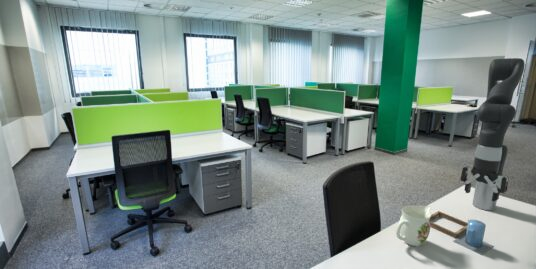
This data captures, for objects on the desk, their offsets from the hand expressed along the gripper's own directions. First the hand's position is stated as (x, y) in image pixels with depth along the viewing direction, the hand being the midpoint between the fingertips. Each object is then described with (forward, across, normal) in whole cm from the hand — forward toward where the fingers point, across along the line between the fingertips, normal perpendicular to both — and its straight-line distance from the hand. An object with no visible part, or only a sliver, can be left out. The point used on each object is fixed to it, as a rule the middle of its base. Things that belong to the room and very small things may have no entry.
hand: (480, 196), depth 104 cm
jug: (+20, -1, +2) cm, 20 cm away
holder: (+20, +12, -4) cm, 24 cm away
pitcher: (+20, +13, +21) cm, 32 cm away
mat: (+20, -1, +1) cm, 20 cm away
